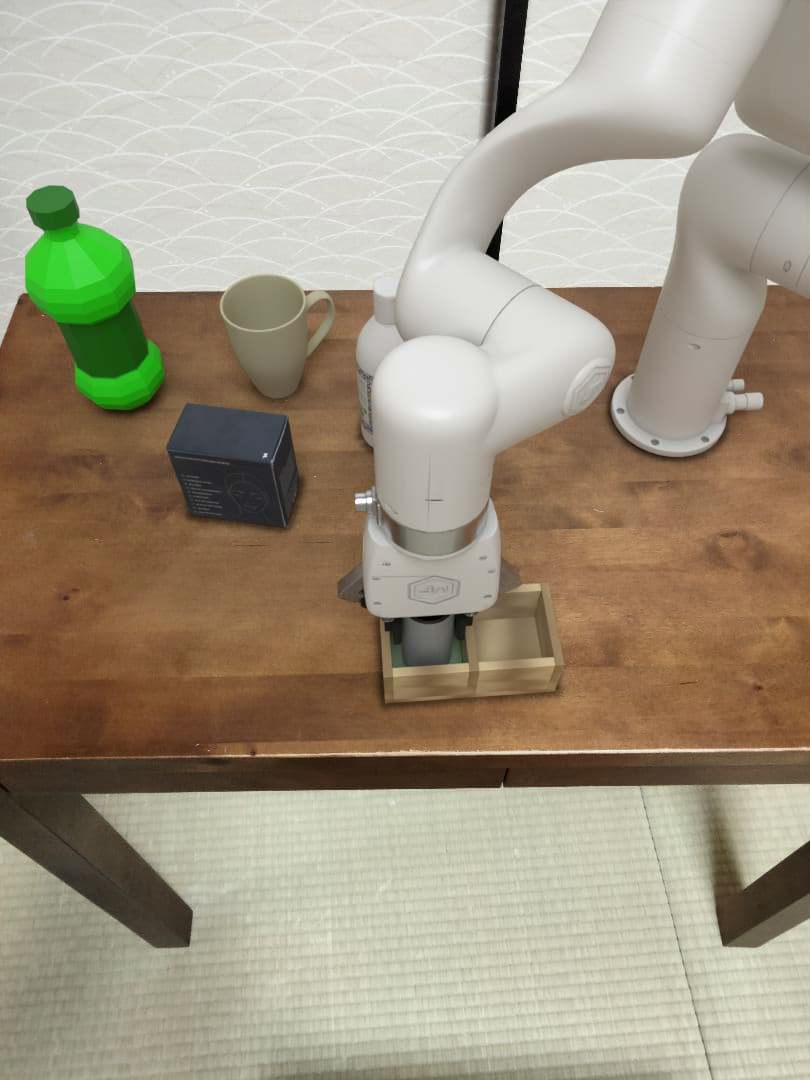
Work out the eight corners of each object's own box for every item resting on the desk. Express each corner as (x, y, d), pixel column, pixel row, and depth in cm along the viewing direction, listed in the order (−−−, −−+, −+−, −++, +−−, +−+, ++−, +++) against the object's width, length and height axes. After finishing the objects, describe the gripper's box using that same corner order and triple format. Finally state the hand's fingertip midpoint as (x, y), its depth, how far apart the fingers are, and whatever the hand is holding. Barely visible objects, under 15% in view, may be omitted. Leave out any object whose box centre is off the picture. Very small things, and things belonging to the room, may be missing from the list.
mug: (305, 422, 92) (292, 342, 82) (226, 400, 94) (204, 319, 84) (342, 357, 97) (334, 275, 87) (267, 338, 99) (251, 254, 89)
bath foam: (383, 464, 88) (376, 322, 72) (349, 424, 91) (336, 278, 75) (435, 437, 90) (441, 292, 74) (401, 399, 94) (399, 252, 77)
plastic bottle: (190, 374, 96) (129, 178, 75) (142, 438, 90) (62, 246, 70) (116, 352, 98) (37, 156, 77) (66, 413, 93) (-34, 220, 72)
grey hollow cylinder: (457, 669, 74) (463, 615, 65) (410, 682, 73) (409, 630, 65) (442, 626, 76) (446, 569, 68) (396, 638, 76) (393, 583, 67)
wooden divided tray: (540, 613, 78) (548, 582, 73) (554, 691, 74) (565, 664, 69) (380, 623, 78) (378, 593, 73) (384, 703, 73) (383, 677, 68)
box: (302, 479, 87) (290, 413, 78) (287, 529, 84) (272, 466, 75) (206, 466, 88) (184, 400, 80) (187, 515, 85) (162, 451, 76)
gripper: (306, 557, 53) (329, 674, 68) (567, 540, 53) (531, 660, 68) (306, 466, 57) (328, 595, 72) (547, 451, 57) (518, 583, 72)
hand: (427, 625), depth 70 cm, fingers closed on grey hollow cylinder, 4 cm apart
